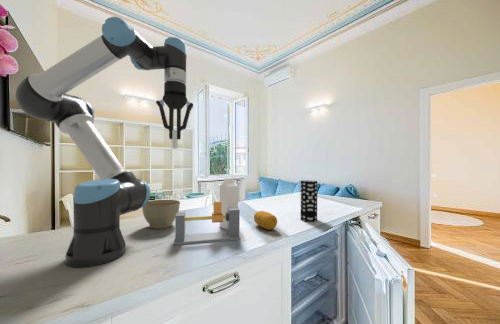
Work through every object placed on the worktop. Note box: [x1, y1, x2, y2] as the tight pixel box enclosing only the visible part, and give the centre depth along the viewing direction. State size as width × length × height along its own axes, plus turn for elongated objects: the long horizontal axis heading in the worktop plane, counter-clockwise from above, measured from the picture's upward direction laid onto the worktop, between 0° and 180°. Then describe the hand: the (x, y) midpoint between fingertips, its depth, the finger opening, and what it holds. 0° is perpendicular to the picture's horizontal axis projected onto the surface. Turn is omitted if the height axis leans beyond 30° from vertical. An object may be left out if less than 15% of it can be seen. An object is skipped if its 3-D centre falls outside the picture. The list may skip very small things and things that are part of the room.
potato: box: [253, 210, 278, 231], centre depth 96 cm, size 7×14×7 cm, turn 26°
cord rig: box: [173, 206, 241, 246], centre depth 82 cm, size 24×8×11 cm, turn 104°
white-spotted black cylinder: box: [300, 180, 318, 223], centre depth 110 cm, size 8×8×20 cm
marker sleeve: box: [211, 200, 223, 223], centre depth 83 cm, size 4×3×8 cm
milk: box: [219, 177, 239, 230], centre depth 97 cm, size 6×6×22 cm
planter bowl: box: [142, 199, 181, 229], centre depth 97 cm, size 16×16×11 cm
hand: (174, 148), depth 77 cm, fingers closed
